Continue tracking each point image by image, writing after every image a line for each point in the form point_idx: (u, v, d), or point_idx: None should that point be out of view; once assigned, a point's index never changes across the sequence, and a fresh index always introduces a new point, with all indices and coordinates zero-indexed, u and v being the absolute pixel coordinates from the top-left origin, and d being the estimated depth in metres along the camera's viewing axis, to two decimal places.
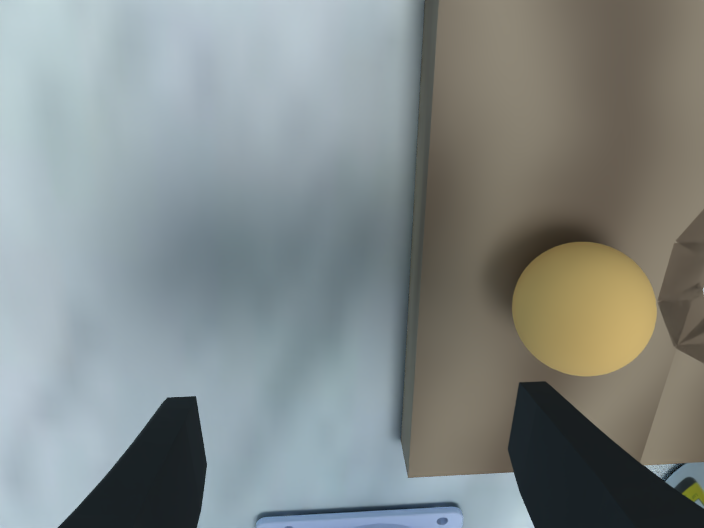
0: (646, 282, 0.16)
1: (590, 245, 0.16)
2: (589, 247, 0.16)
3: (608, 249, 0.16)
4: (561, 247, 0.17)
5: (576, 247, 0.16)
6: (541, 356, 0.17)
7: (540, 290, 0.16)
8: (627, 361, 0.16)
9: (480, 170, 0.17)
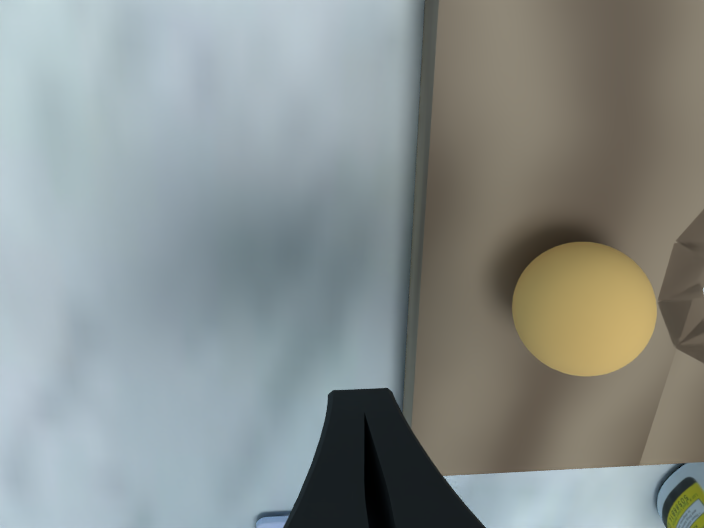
0: (646, 282, 0.16)
1: (590, 245, 0.16)
2: (589, 247, 0.16)
3: (608, 249, 0.16)
4: (561, 247, 0.17)
5: (576, 247, 0.16)
6: (541, 356, 0.17)
7: (540, 290, 0.16)
8: (627, 361, 0.16)
9: (480, 170, 0.17)
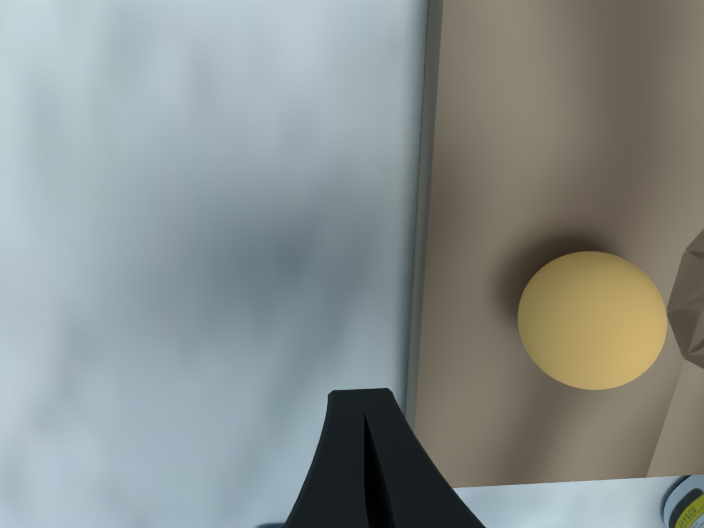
0: (656, 293, 0.15)
1: (598, 255, 0.16)
2: (597, 257, 0.16)
3: (617, 259, 0.16)
4: (568, 257, 0.16)
5: (584, 257, 0.16)
6: (548, 369, 0.16)
7: (547, 302, 0.16)
8: (637, 375, 0.16)
9: (485, 177, 0.17)
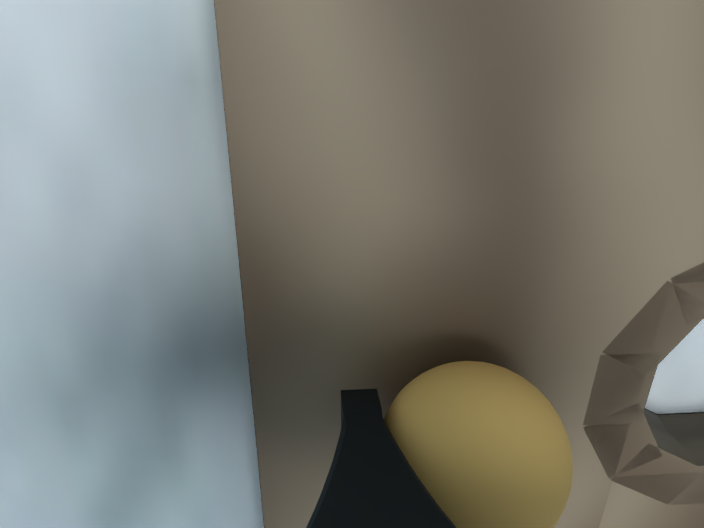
0: (555, 427, 0.11)
1: (476, 373, 0.11)
2: (474, 378, 0.11)
3: (500, 379, 0.11)
4: (437, 376, 0.12)
5: (456, 378, 0.11)
6: None
7: (407, 450, 0.11)
8: None
9: (315, 264, 0.12)
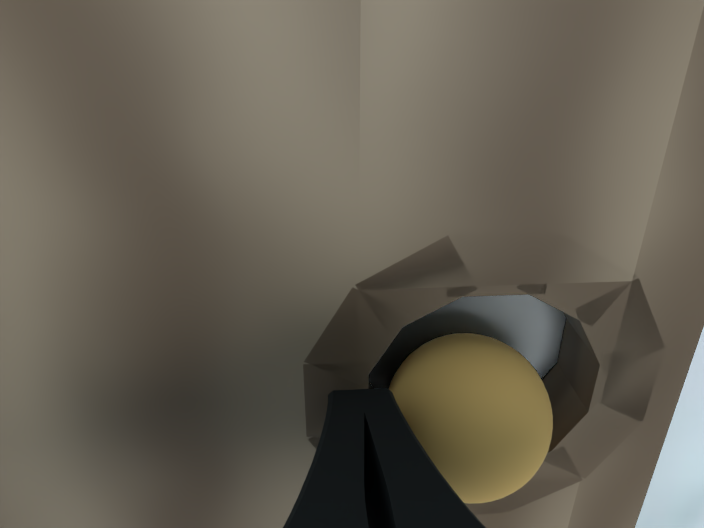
0: (403, 412, 0.13)
1: (477, 390, 0.12)
2: (474, 382, 0.12)
3: (456, 398, 0.12)
4: (507, 378, 0.13)
5: (487, 376, 0.13)
6: None
7: None
8: None
9: None
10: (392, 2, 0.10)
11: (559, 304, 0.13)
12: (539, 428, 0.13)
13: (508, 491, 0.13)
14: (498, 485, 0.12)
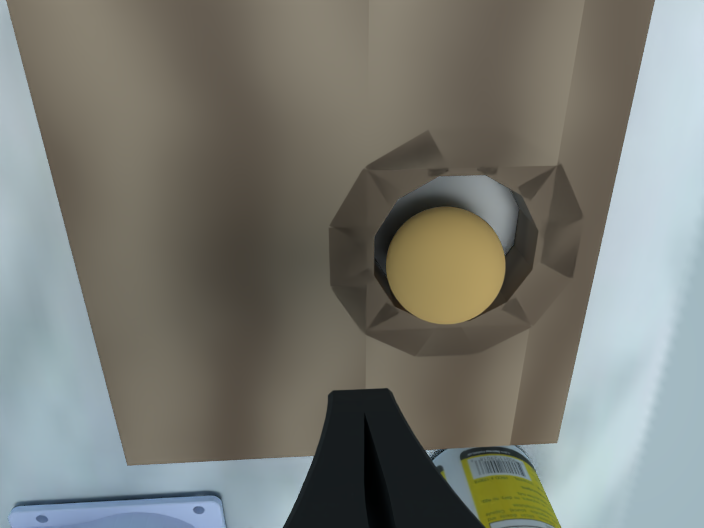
0: (398, 252, 0.18)
1: (448, 228, 0.18)
2: (446, 224, 0.18)
3: (434, 234, 0.18)
4: (470, 223, 0.18)
5: (456, 221, 0.18)
6: None
7: None
8: None
9: (100, 154, 0.17)
10: None
11: (507, 182, 0.18)
12: (493, 257, 0.18)
13: (473, 303, 0.18)
14: (465, 295, 0.18)
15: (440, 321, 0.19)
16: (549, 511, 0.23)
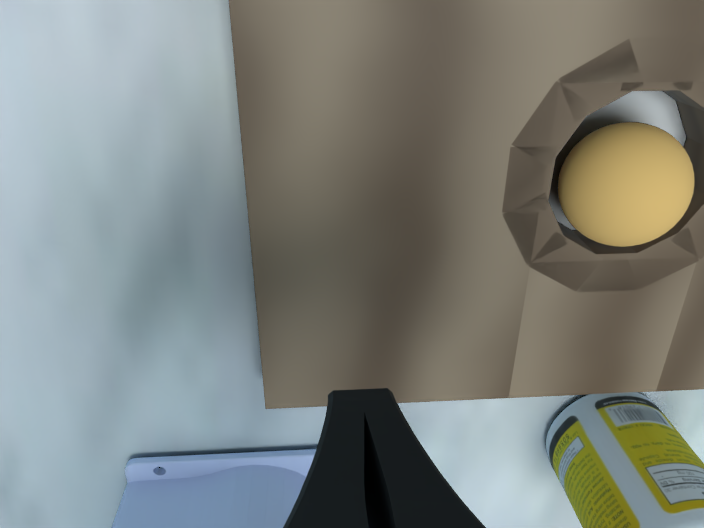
0: (584, 163, 0.18)
1: (642, 134, 0.17)
2: (638, 131, 0.17)
3: (627, 140, 0.17)
4: (661, 131, 0.17)
5: (647, 128, 0.17)
6: None
7: None
8: None
9: (290, 61, 0.16)
10: None
11: (700, 99, 0.18)
12: (688, 165, 0.17)
13: (670, 213, 0.17)
14: (664, 202, 0.17)
15: (628, 237, 0.18)
16: None
